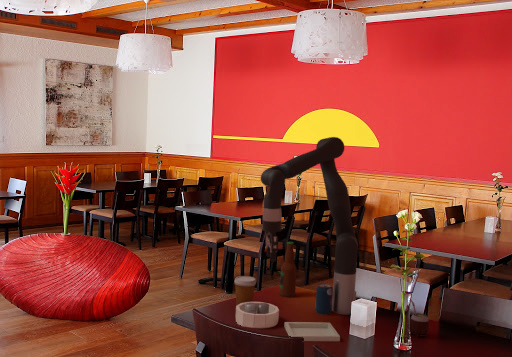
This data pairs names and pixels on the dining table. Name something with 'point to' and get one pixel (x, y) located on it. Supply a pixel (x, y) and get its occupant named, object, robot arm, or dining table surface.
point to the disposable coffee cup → (244, 289)
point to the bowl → (257, 317)
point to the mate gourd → (419, 323)
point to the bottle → (288, 273)
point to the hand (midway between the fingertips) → (271, 259)
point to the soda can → (324, 299)
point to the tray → (312, 331)
